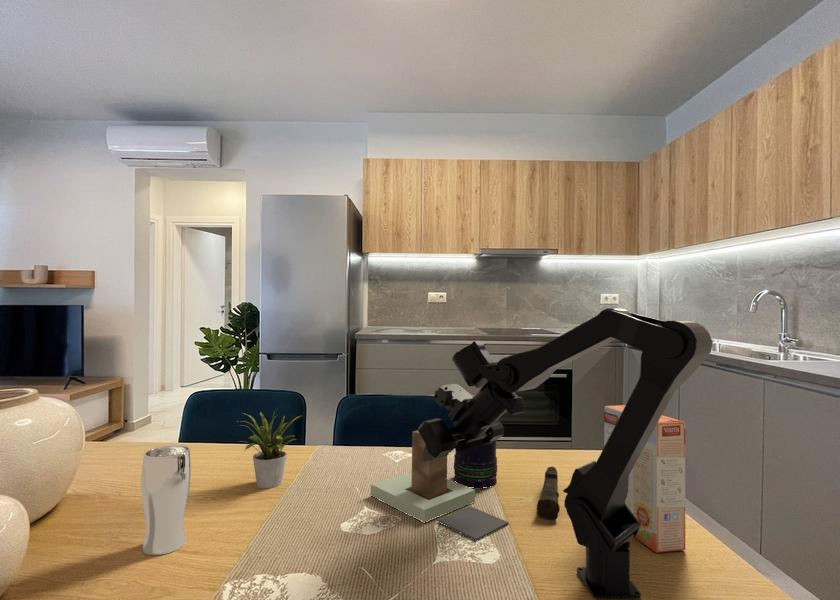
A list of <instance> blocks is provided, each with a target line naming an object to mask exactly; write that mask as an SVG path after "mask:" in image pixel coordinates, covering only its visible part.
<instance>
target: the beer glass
mask: <svg viewBox="0 0 840 600" xmlns="http://www.w3.org/2000/svg"><path fill="white" fill-rule="evenodd" d="M191 458H192V457H191V447H190V446H188V445H182V444H181V445H180V444H171V445H170V444H169V445H163V446H158V447H154V448H150V449H148V450H146V451H145V452H144V453H143V460H142V468H141V477H140V478H141V479H140V480H141V481H140V484H141V485H140V487H141V488H140V490H141V491H140V493H141V499H142V505H143V511H144V518H145V534H144V539H143V544H142V549H141V550H142V552H143V554H145V555H147V556H161V555H162V556H163V555H167V554H170V553H173V552H175V551H177V550H179V549H181V548H183V546H184V545H185V544H186V541H187V537H186V532H185V525H184V524H185V512H186V508H187V507H186V506H187V502H188V498H189V494H190V493H189V492H190V488H191V477H192V461H191Z"/></svg>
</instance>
